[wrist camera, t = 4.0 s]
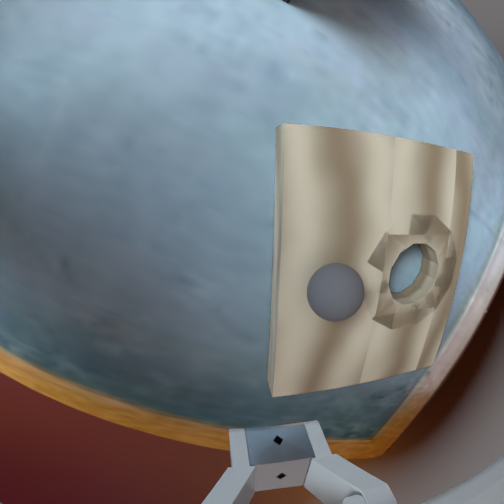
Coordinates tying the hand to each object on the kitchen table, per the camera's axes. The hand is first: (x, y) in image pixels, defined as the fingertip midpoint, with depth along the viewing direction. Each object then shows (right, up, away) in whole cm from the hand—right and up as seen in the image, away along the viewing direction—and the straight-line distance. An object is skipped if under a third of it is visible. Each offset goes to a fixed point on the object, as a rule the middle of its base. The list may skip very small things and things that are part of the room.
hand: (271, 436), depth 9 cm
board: (+10, +5, +16) cm, 20 cm away
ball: (+5, +3, +11) cm, 13 cm away
